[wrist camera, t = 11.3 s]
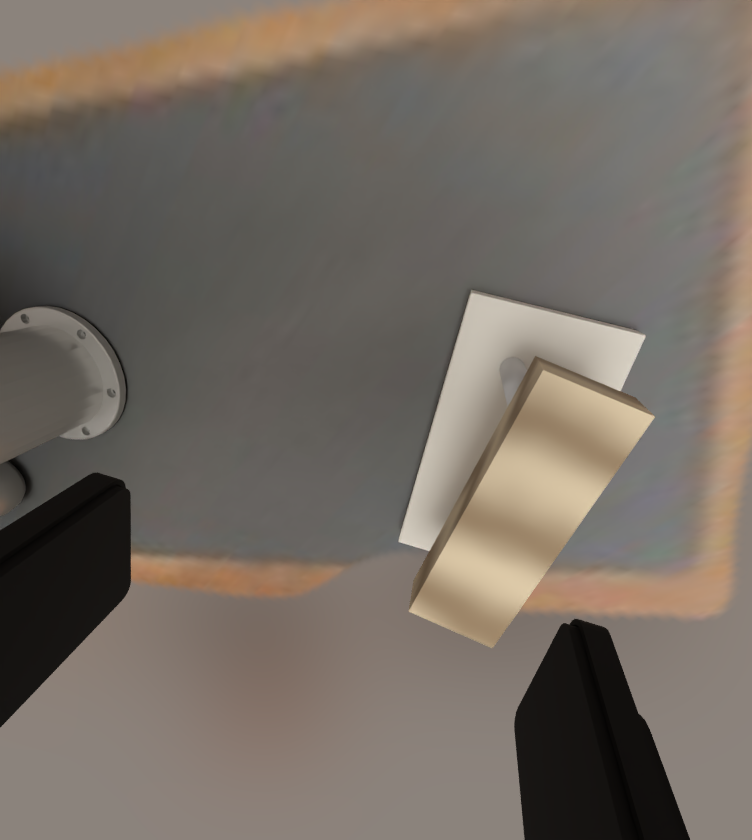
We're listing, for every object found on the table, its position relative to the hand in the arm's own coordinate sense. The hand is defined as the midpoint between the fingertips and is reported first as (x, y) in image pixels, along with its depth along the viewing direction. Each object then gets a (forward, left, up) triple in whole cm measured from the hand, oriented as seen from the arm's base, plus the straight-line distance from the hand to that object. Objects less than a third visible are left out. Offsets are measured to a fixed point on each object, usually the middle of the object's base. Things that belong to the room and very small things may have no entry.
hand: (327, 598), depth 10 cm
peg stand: (+8, -7, -28) cm, 30 cm away
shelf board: (+8, -7, -19) cm, 22 cm away
